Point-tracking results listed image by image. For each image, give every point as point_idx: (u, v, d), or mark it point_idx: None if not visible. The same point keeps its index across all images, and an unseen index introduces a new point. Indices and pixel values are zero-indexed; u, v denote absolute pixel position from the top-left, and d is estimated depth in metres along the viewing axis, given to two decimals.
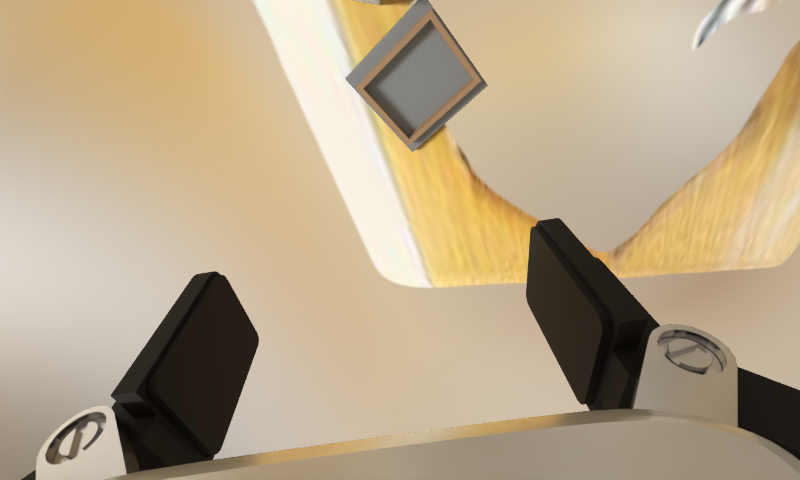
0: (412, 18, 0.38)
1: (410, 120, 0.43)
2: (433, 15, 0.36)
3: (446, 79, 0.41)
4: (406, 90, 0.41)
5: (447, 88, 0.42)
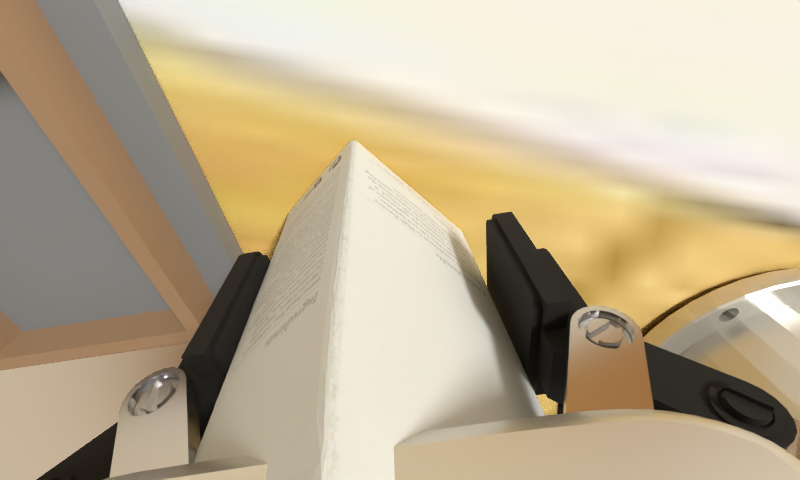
0: (218, 276, 0.14)
1: None
2: None
3: (25, 284, 0.14)
4: None
5: None
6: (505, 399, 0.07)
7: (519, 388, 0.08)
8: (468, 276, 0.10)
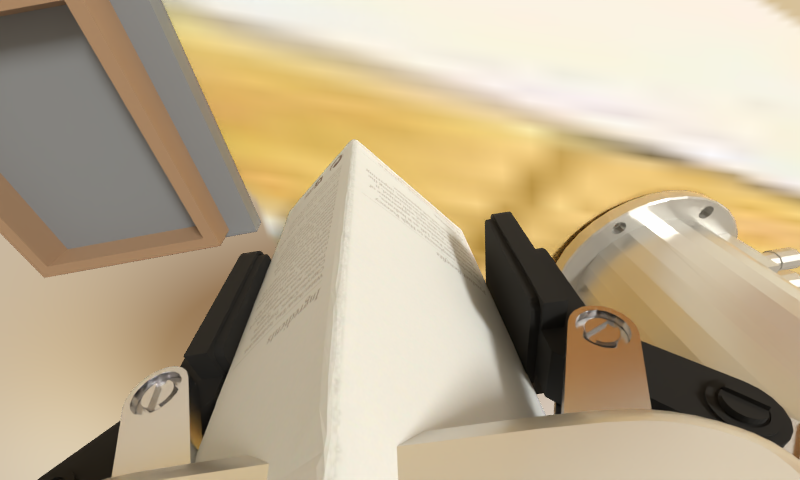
0: (225, 198, 0.18)
1: None
2: (208, 245, 0.18)
3: (73, 206, 0.17)
4: (57, 112, 0.15)
5: (48, 200, 0.17)
6: (505, 396, 0.07)
7: (519, 386, 0.08)
8: (468, 275, 0.10)
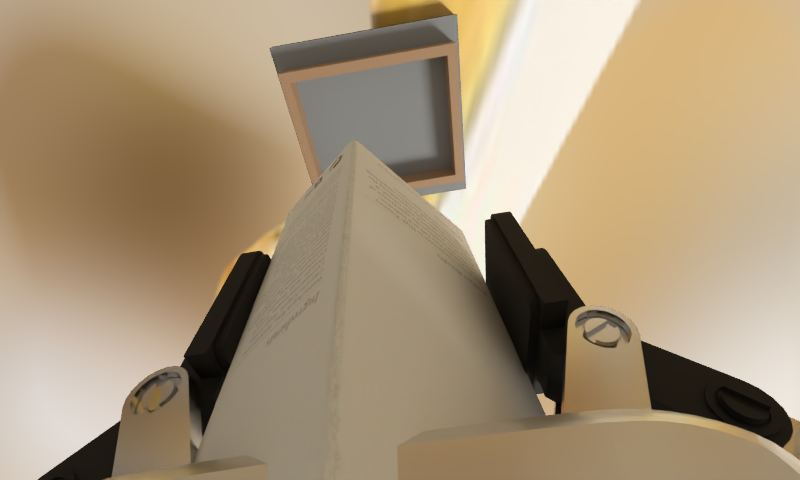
0: None
1: (423, 77, 0.23)
2: None
3: (335, 103, 0.24)
4: (401, 126, 0.25)
5: (339, 88, 0.24)
6: (506, 399, 0.07)
7: (520, 388, 0.08)
8: (469, 276, 0.10)
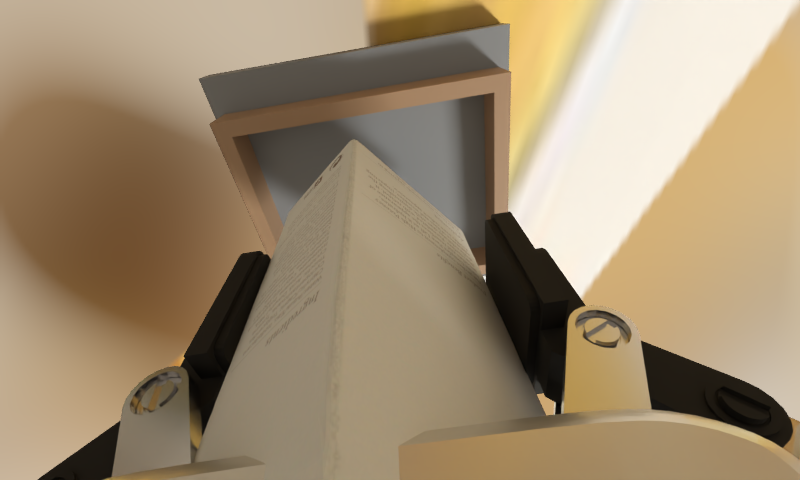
0: None
1: (450, 122, 0.15)
2: None
3: (311, 161, 0.15)
4: None
5: (317, 140, 0.15)
6: (506, 399, 0.07)
7: (520, 388, 0.08)
8: (469, 276, 0.10)
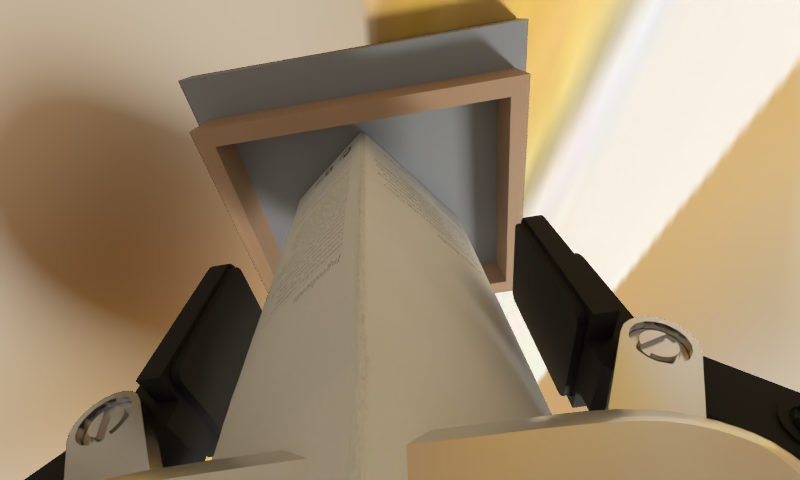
0: None
1: (459, 129, 0.13)
2: None
3: (305, 171, 0.14)
4: None
5: (312, 148, 0.13)
6: (497, 352, 0.08)
7: (509, 348, 0.09)
8: (466, 256, 0.12)
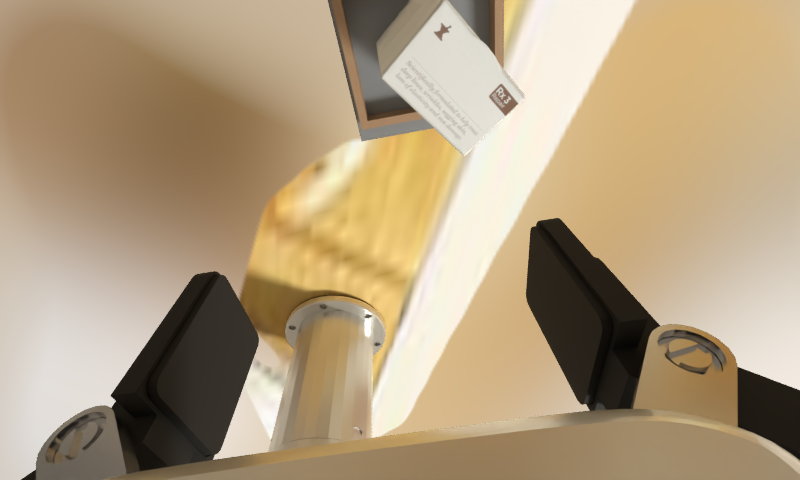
0: (386, 127, 0.29)
1: None
2: (362, 122, 0.27)
3: (380, 23, 0.25)
4: None
5: (385, 7, 0.24)
6: None
7: None
8: None
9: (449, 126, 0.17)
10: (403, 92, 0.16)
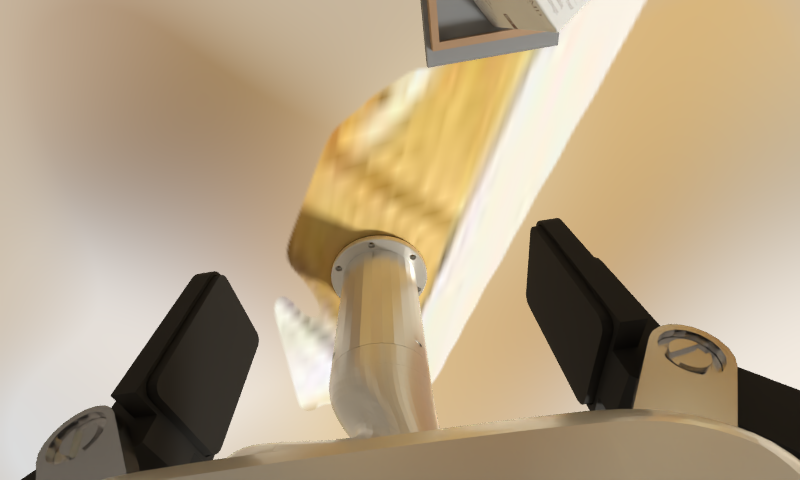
0: (451, 53, 0.32)
1: None
2: (434, 43, 0.30)
3: None
4: None
5: None
6: None
7: None
8: None
9: None
10: None
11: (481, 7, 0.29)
